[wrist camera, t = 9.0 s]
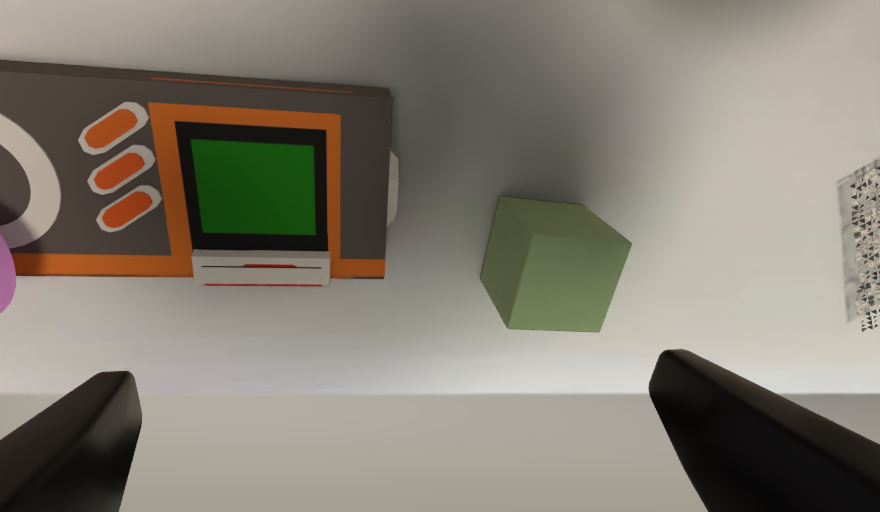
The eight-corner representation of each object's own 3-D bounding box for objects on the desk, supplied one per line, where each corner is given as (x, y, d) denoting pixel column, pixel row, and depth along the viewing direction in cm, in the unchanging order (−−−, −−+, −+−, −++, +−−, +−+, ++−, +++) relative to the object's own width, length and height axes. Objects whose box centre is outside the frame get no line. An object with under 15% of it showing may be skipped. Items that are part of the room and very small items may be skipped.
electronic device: (-181, 61, 13) (405, 101, 15) (-89, 51, 15) (398, 87, 18) (-84, 289, 16) (394, 291, 18) (-21, 249, 18) (389, 256, 21)
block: (584, 204, 22) (633, 242, 18) (559, 284, 23) (600, 333, 20) (498, 195, 21) (533, 233, 17) (479, 279, 22) (506, 329, 19)
